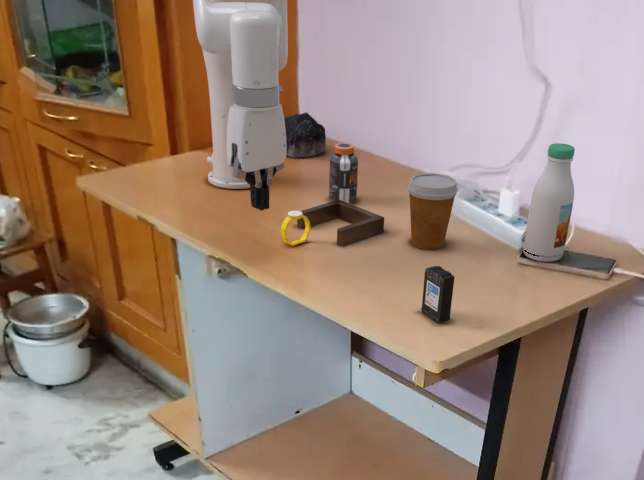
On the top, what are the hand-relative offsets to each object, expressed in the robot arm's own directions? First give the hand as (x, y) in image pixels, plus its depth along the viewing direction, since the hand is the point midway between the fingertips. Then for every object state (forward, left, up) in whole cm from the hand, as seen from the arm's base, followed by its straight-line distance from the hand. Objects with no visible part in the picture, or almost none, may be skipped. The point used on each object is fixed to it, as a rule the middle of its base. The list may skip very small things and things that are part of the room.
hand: (260, 207), depth 151 cm
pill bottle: (-12, +33, -9) cm, 36 cm away
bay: (0, +20, -9) cm, 22 cm away
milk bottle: (+34, +42, -9) cm, 54 cm away
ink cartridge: (+38, +6, -9) cm, 39 cm away
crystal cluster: (-44, +49, -9) cm, 67 cm away
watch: (0, +9, -9) cm, 13 cm away
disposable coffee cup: (+16, +29, -9) cm, 34 cm away
